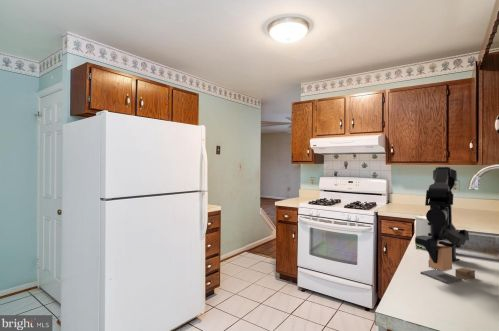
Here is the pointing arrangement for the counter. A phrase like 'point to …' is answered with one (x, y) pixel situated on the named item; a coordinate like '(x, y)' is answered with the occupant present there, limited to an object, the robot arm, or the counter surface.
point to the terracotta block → (442, 258)
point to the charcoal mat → (441, 276)
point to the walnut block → (465, 273)
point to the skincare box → (422, 227)
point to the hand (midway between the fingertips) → (440, 262)
